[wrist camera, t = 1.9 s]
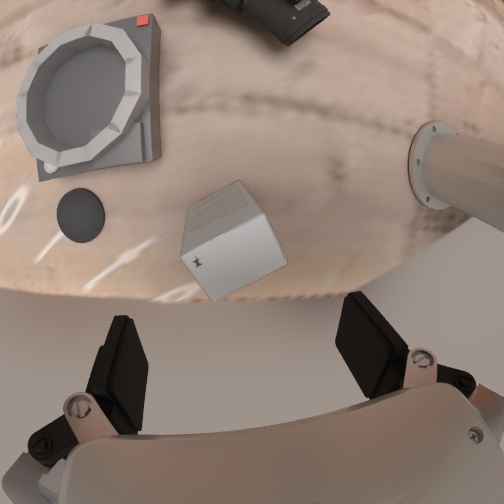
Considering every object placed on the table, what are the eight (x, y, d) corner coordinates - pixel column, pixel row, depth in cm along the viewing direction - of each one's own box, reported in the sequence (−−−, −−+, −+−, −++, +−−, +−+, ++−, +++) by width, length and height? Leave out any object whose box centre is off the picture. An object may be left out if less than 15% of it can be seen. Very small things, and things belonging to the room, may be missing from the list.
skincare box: (208, 239, 29) (210, 305, 18) (188, 206, 27) (176, 256, 16) (258, 213, 29) (290, 265, 18) (240, 178, 27) (263, 210, 16)
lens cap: (101, 183, 25) (97, 186, 24) (110, 236, 27) (106, 240, 26) (57, 192, 24) (52, 194, 23) (67, 241, 27) (63, 245, 25)
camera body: (160, 29, 19) (146, -1, 12) (161, 156, 25) (144, 165, 18) (58, 56, 17) (22, 42, 10) (60, 173, 23) (22, 189, 16)
